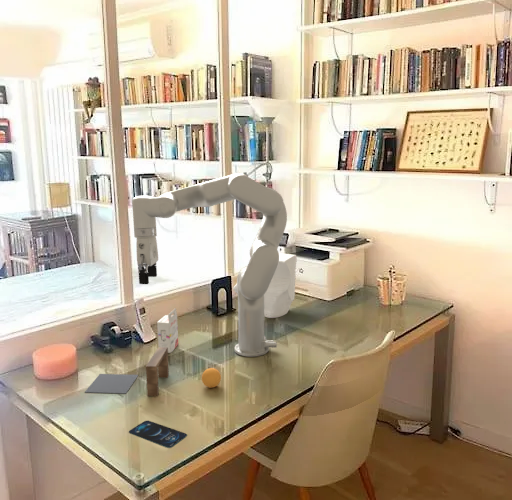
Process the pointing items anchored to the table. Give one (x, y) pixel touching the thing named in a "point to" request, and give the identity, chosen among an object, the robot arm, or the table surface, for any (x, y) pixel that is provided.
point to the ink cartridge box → (168, 331)
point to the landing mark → (112, 383)
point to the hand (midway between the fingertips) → (148, 280)
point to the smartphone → (158, 434)
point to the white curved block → (280, 287)
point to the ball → (211, 377)
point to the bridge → (156, 370)
